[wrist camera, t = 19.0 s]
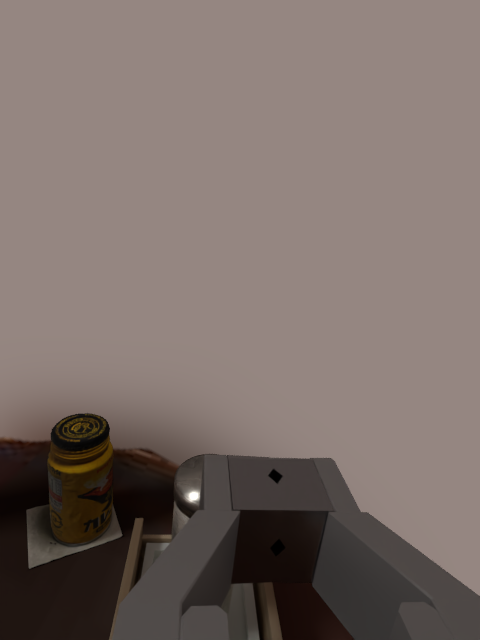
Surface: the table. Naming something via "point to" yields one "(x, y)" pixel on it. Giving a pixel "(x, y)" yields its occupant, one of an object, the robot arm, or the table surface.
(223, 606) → the canister
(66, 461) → the condiment
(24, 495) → the table surface
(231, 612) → the tray
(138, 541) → the housing
